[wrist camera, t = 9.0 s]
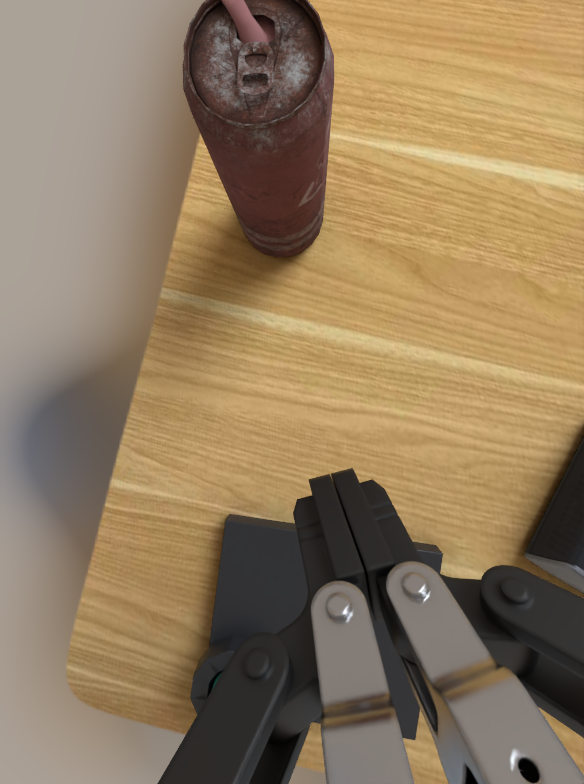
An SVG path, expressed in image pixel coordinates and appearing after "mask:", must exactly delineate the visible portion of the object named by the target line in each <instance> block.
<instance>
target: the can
mask: <svg viewBox="0 0 584 784" xmlns="http://www.w3.org/2000/svg"><path fill="white" fill-rule="evenodd" d="M183 88H184V92H185V95H186V98H187V101H188V104H189V107H190V110H191V112H192V115H193V117H194V119H195V122H196V124H197V126H198V128H199V131H200V133H201V135H202V138H203V140H204V142H205V145H206V147H207V149H208V151H209V154H210V156H211V158H212V161H213V163H214V165H215V167H216V170H217V172H218V174H219V177H220V179H221V181H222V183H223V186H224V188H225V190H226V193H227V195H228V197H229V199H230V202H231V204H232V206H233V209H234V211H235V213H236V215H237V218H238V220H239V222H240V225H241V227H242V229H243V232H244V234H245V236H246V238H247V239H248V240H249V242H250V243H251V244H252V245H253V247H255V248H256V249H258V250H259V251H260V252H262V253H263V254H266V255H269V256H273V257H290V256H293V255H296V254H299V253H301V252H302V251H304V250H305V249H306V248H308V247H309V246H310V245H311V244H312V243H313V242H314V240H315V239H316V237H317V236H318V234H319V232H320V229H321V225H322V222H323V212H324V200H325V187H326V175H327V163H328V150H329V138H330V125H331V113H332V100H333V88H334V55H333V52H332V49H331V46H330V43H329V40H328V37H327V34H326V32H325V30H324V28H323V26H322V23H321V20H320V17H319V14H318V13H317V11H316V10H315V9H314V8H313V6H312V5H311V4H310V2H309V1H308V0H206V1H205V2H204V3H203V4H202V5H201V7H200V8H199V10H198V11H197V13H196V15H195V16H194V18H193V19H192V21H191V22H190V25H189V28H188V32H187V35H186V39H185V43H184V61H183Z"/></svg>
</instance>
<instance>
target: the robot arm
mask: <svg viewBox="0 0 584 784" xmlns="http://www.w3.org/2000/svg"><path fill="white" fill-rule="evenodd" d="M331 477H332V479H331ZM309 483H310V487H311V491H312V496H308V497H304V498H301V499H297V502H296V505H295V509H294V513H293V514H294V520H295V525H296V529H297V535H298V540H299V545H300V551H301V556H302V561H303V566H304V571H305V576H306V582H307V587H308V597H307V602H306V605H305V607H304V609H303V611H302V612H301V614H300V615H299V617H298V618H297V619H296V620H295V621H293V622H292V623H291V624H290V625H288V626H287V627H285V628H284V629H282V630H281V631H279V632H278V633H277V634H275V635H274V634H272V633H268V632H259V633H255V634H253V635H251V636H249V637H247V638H246V639H245V640H244V641H242V642H241V643H240V645H239V646H238V647H237V649H236V650H235V652H234V653H233V655H232V657H231V658H230V660H229V662H228V664H227V665H226V667H225V669H224V670H223V672H222V674H221V676H220V677H219V679H218V681H217V683H216V684H215V686H214V688H213V689H212V691H211V693H210V695H209V696H208V698H207V700H206V701H205V703H204V705H203V707H202V708H201V710H200V712H199V713H198V715H197V717H196V719H195V720H194V722H193V724H192V725H191V727H190V729H189V731H188V732H187V734H186V736H185V737H184V739H183V741H182V743H181V744H180V746H179V748H178V750H177V751H176V753H175V755H174V757H173V758H172V760H171V762H170V764H169V765H168V767H167V768H166V770H165V772H164V774H163V775H162V777H161V779H160V780H159V782H158V784H288V783H289V781H290V778H291V775H292V773H293V770H294V768H295V765H296V762H297V760H298V757H299V754H300V752H301V749H302V747H303V744H304V741H305V739H306V736H307V734H308V731H309V727H310V724H311V723H312V722H313V721H314V720H316V719H317V718H318V717H319V716H321V736H322V746H323V755H324V765H325V774H326V783H327V784H414V781H413V777H412V773H411V769H410V765H409V761H408V757H407V753H406V749H405V745H404V742H403V738H402V734H401V730H400V726H399V722H398V718H397V715H396V711H395V708H394V705H393V702H392V699H391V695H390V692H389V688H388V684H387V680H386V676H385V672H384V668H383V664H382V660H381V656H380V652H379V649H378V645H377V641H376V637H375V633H374V629H373V625H372V623H373V618H372V613H373V616H374V619H375V622H380V621H385V624H386V627H387V630H388V633H389V635H390V638H391V641H392V643H393V645H394V648H395V651H396V654H397V656H398V658H399V661H400V663H401V665H402V668H403V670H404V672H405V674H406V677H407V679H408V681H409V684H410V686H411V688H412V691H413V693H414V695H415V697H416V700H417V702H418V704H419V707H420V709H421V711H422V714H423V716H424V718H425V720H426V723H427V725H428V727H429V730H430V732H431V734H432V737H433V739H434V742H435V745H436V748H437V751H438V755H439V758H440V761H441V764H442V767H443V769H444V772H445V775H446V777H447V780H448V782H449V784H584V775H583V774H582V772H581V771H580V769H579V768H578V766H577V765H576V763H575V762H574V761H573V759H572V758H571V756H570V755H569V753H568V752H567V750H566V749H565V747H564V746H563V744H562V743H561V741H560V740H559V738H558V737H557V735H556V734H555V732H554V731H553V729H552V728H551V726H550V725H549V723H548V722H547V720H546V719H545V717H544V716H543V714H542V713H541V711H540V710H539V708H541V709H542V710H544V711H545V712H547V713H548V714H550V715H551V716H553V717H554V718H556V719H557V720H558V721H560V722H561V723H563V724H564V725H566V726H567V727H569V728H570V729H572V730H573V731H575V732H576V733H577V734H579V735H580V736H582V737H583V738H584V599H583V598H581V597H579V596H577V595H575V594H573V593H571V592H569V591H567V590H565V589H562V588H560V587H558V586H556V585H554V584H552V583H550V582H548V581H546V580H544V579H541V578H539V577H537V576H535V575H533V574H531V573H529V572H527V571H525V570H522V569H520V568H517V567H513V566H507V565H500V566H495V567H492V568H490V569H488V570H487V571H486V572H485V573H484V575H483V576H482V579H481V580H475V579H459V578H451V577H447V576H444V575H441V574H439V573H437V572H436V571H435V570H434V569H432V568H431V567H429V566H428V565H426V564H425V563H424V561H423V560H422V559H421V557H420V556H419V554H418V552H417V550H416V548H415V546H414V544H413V542H412V540H411V538H410V537H409V535H408V533H407V531H406V529H405V527H404V525H403V523H402V521H401V519H400V518H399V516H398V515H397V512H396V510H395V508H394V506H393V505H392V503H391V500H390V499H389V497H388V495H387V493H386V491H385V489H384V488H382V487H381V486H380V485H379V484H377V483H376V482H375V481H374V480H369V481H365V482H362V483H359V481H358V479H357V476H356V474H355V472H354V470H353V468H351V469H347V470H343V471H339V472H335V473H332V474H331V476H330V474H327V475H324V476H320V477H316V478H312V479H309ZM371 610H372V612H371ZM537 706H538V707H539V708H538V707H537Z"/></svg>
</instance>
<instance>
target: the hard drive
mask: <svg viewBox="0 0 584 784" xmlns="http://www.w3.org/2000/svg"><path fill="white" fill-rule="evenodd" d="M524 556H525V558H527V559H528V560H530V561H531V562H533V563H534V564H536V565H537V566H539V567H540V568H542V569H543V570H545V571H547V572H548V573H550V574H552V575H553V576H555V577H556V578H558V579H560V580H561V581H563V582H565V583H567V584H568V585H570V586H572V587H573V588H575V589H577V590H579V591H580V592H582V593H584V437H583V439H582V441H581V443H580V445H579V447H578V449H577V451H576V453H575V455H574V457H573V459H572V461H571V463H570V465H569V467H568V468H567V470H566V472H565V474H564V476H563V478H562V480H561V482H560V484H559V487H558V488H557V490H556V492H555V494H554V496H553V498H552V500H551V502H550V504H549V506H548V508H547V510H546V512H545V514H544V516H543V518H542V520H541V522H540V524H539V526H538V528H537V530H536V532H535V534H534V536H533V538H532V540H531V541H530V544H529V545H528V547H527V549H526V551H525V554H524Z"/></svg>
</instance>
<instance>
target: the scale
mask: <svg viewBox="0 0 584 784" xmlns="http://www.w3.org/2000/svg"><path fill="white" fill-rule="evenodd" d="M413 544H414V546H415V548H416V550H417V552H418V554H419V556H420V557H421V559H422V560H423V561H424V563H425V564H426V565H428V566H429V567H431V568H432V569H434V570H435V571H436V572H437V573H439V574H440V570H441V563H442V557H443V553H442V552H441V551H440V550H439V548H438V547H437V546H436V545H430V544H424V543H417V542H413ZM307 597H308V587H307V582H306V576H305V571H304V566H303V561H302V556H301V551H300V545H299V540H298V535H297V529H296V525H295V524H292V523H286V522H279V521H272V520H266V519H259V518H253V517H246V516H240V515H233V514H229V516H228V518H227V519H226V521H225V528H224V536H223V544H222V551H221V559H220V567H219V574H218V582H217V590H216V597H215V605H214V613H213V620H212V628H211V636H210V643H209V649H208V650H207V651H206V652H205V654H204V655H203V656H202V657H201V659H200V661H199V663H198V666H197V668H196V671H195V673H194V676H193V682H192V690H191V701H192V703H193V705H194V708H195V710H196V713H197V715H198V713H199V712H200V710H201V708H202V707H203V705H204V703H205V701H206V700H207V698H208V696H209V695H210V693H211V691H212V687H213V684H214V682H215V680H216V678H217V677H218V676H219V675H220V674H221V673H222V672H223V670H224V669H225V667H226V665H227V664H228V662H229V660H230V658H231V657H232V655H233V653H234V652H235V650H236V649H237V647H238V646H239V645H240V643H241V642H242V641H244V640H245V639H246V638H247V637H249V636H251V635H253V634H255V633H259V632H268V633H272V634H274V635H275V634H277V633H278V632H279V631H281V630H282V629H284V628H285V627H287V626H288V625H290V624H291V623H292V622H293V621H295V620H296V619H297V618H298V617H299V615H300V614H301V612H302V611H303V609H304V607H305V605H306V602H307ZM371 612H372V610H371ZM372 618H373V623H372V625H373V629H374V633H375V637H376V641H377V645H378V649H379V652H380V656H381V660H382V664H383V668H384V672H385V676H386V680H387V684H388V688H389V692H390V695H391V699H392V702H393V705H394V708H395V711H396V715H397V718H398V722H399V726H400V730H401V734H402V738H406V739H412V740H415V738H416V731H417V724H418V718H419V711H420V707H419V704H418V702H417V700H416V697H415V695H414V693H413V691H412V688H411V686H410V684H409V681H408V679H407V677H406V674H405V672H404V670H403V668H402V665H401V663H400V661H399V658H398V656H397V654H396V651H395V648H394V645H393V643H392V641H391V638H390V635H389V633H388V630H387V627H386V624H385V621H380V622H375V619H374V616H373V613H372ZM313 722H316V723H321V716H319V717H318V718H317V719H316V720H314V721H313Z"/></svg>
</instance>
